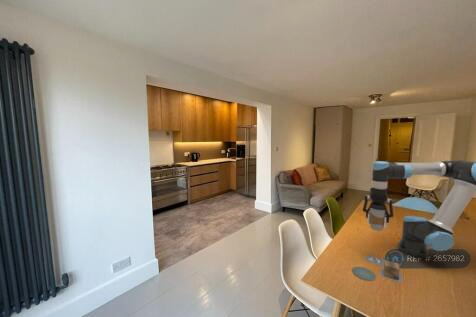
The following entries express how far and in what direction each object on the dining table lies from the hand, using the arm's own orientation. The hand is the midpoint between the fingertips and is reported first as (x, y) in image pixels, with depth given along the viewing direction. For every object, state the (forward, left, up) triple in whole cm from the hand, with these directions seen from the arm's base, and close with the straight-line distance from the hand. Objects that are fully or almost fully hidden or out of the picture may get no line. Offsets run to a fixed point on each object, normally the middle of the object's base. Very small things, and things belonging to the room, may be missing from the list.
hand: (376, 225), depth 120 cm
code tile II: (-9, +9, -22) cm, 26 cm away
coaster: (+2, +18, -22) cm, 29 cm away
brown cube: (-9, +9, -22) cm, 26 cm away
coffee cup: (0, 0, -2) cm, 2 cm away
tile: (0, -1, -22) cm, 22 cm away
